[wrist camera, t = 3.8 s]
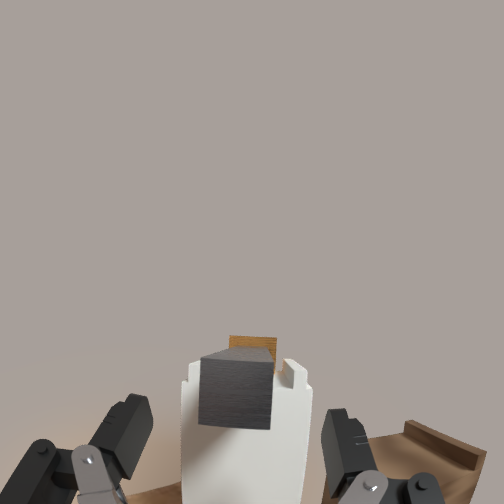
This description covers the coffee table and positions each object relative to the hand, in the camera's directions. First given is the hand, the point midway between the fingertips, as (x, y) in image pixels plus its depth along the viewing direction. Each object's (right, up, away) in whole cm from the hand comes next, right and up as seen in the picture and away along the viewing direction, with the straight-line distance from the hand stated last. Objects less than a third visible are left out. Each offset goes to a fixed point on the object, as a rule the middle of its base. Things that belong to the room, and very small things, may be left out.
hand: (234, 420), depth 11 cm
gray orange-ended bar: (0, -3, +10) cm, 10 cm away
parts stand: (-1, -35, +5) cm, 36 cm away
